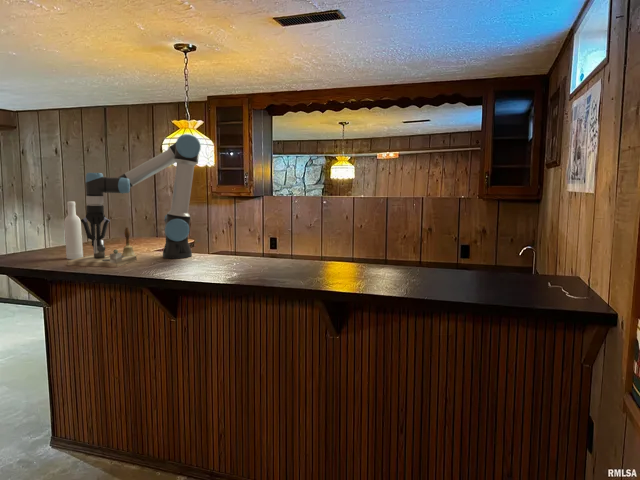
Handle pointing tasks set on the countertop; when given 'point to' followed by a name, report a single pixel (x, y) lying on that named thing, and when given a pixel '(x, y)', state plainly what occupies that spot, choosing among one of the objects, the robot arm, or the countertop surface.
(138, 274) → the countertop surface
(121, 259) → the stand
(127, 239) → the hand bell
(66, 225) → the bottle
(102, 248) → the metal mallet
